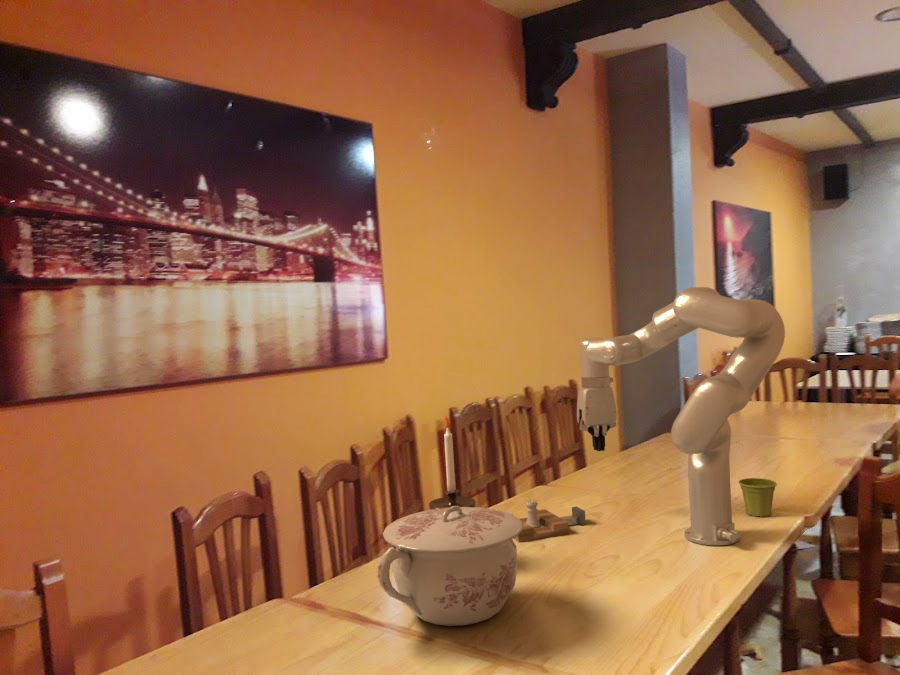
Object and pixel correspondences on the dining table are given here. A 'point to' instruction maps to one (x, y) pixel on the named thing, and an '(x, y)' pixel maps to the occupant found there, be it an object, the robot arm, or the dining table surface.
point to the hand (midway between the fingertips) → (599, 450)
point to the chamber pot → (452, 563)
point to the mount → (552, 527)
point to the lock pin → (573, 517)
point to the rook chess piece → (532, 514)
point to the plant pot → (758, 495)
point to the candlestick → (450, 480)
